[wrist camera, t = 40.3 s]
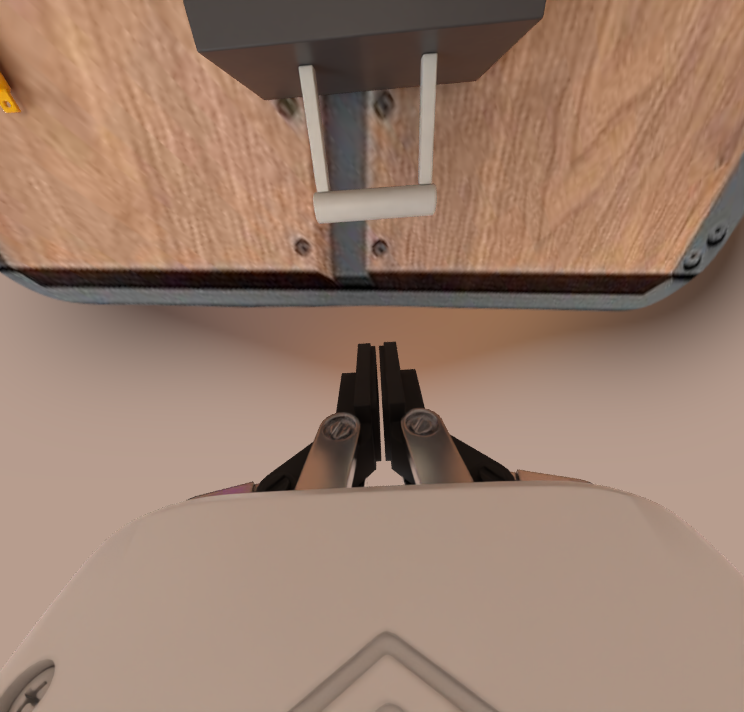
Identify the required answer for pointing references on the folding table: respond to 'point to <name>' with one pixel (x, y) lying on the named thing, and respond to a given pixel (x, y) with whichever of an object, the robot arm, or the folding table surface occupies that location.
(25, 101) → the folding table surface
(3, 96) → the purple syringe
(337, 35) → the dark grey drawer
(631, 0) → the folding table surface
